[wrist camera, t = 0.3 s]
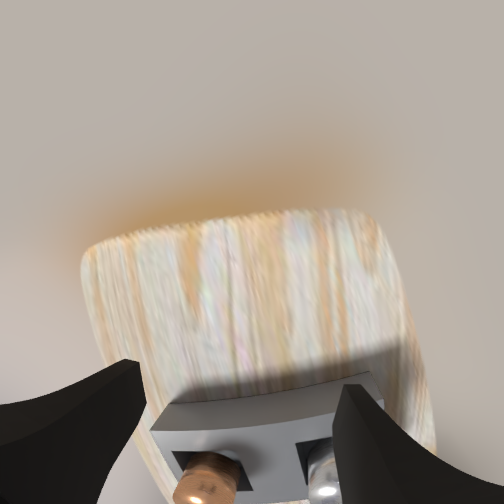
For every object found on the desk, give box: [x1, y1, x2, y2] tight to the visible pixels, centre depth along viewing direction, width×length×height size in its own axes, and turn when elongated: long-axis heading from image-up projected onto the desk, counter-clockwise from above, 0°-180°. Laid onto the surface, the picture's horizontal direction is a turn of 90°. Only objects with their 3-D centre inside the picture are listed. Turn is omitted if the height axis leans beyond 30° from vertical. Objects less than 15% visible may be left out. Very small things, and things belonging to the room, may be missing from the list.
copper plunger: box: [173, 452, 241, 504], centre depth 16 cm, size 4×4×4 cm
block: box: [149, 371, 384, 504], centre depth 18 cm, size 16×9×4 cm, turn 104°
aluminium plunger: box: [308, 437, 342, 504], centre depth 14 cm, size 4×4×4 cm
